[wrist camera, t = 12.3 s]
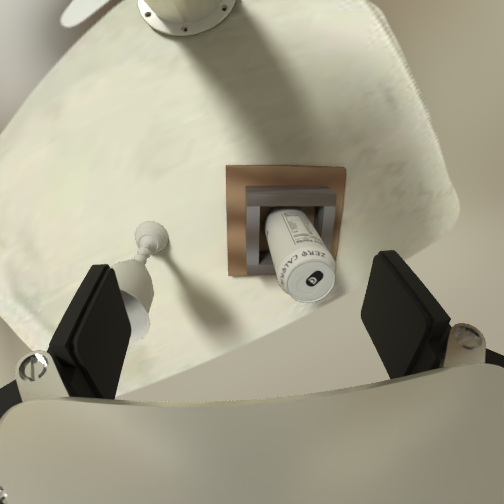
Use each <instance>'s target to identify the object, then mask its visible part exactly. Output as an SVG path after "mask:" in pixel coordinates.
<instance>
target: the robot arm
mask: <svg viewBox="0 0 504 504" xmlns="http://www.w3.org/2000/svg"><path fill="white" fill-rule="evenodd" d="M235 1H236V0H138V8H139V11H140V14H141V16H142V17H143V19H144V20H145V21H146V23H147V24H149V25H150V26H151V27H152V28H153V29H155V30H157V31H159V32H161V33H164V34H168V35H174V36H189V35H194V34H198V33H201V32H204V31H207V30H209V29H211V28H213V27H215V26H216V25H217V24H219V23H220V22H221V21H223V20H224V19H225V18H226V16H227V15H228V14H229V13H230V11H231V10H232V8H233V6H234V4H235ZM222 9H226V11H223V10H222ZM148 15H151V16H150V17H148ZM184 29H188V30H187V31H186V32H184ZM361 319H362V322H363V323H364V326H365V327H366V330H367V331H368V333H369V335H370V337H371V339H372V341H373V344H374V346H375V347H376V350H377V352H378V354H379V356H380V358H381V360H382V362H383V364H384V366H385V368H386V370H387V373H388V375H389V377H390V380H386V381H381V382H376V383H371V384H367V385H361V386H356V387H350V388H344V389H338V390H332V391H326V392H318V393H311V394H304V395H295V396H287V397H277V398H266V399H253V400H237V401H214V402H152V401H129V400H114V399H115V395H116V391H117V387H118V382H119V378H120V374H121V370H122V366H123V363H124V359H125V355H126V351H127V348H128V344H129V340H130V337H131V331H132V330H131V324H130V320H129V317H128V314H127V311H126V308H125V305H124V301H123V298H122V295H121V291H120V288H119V284H118V281H117V277H116V274H115V270H114V269H113V268H110V267H109V265H108V264H101V265H92V267H91V268H90V270H89V271H88V273H87V275H86V277H85V278H84V280H83V282H82V283H81V285H80V287H79V289H78V290H77V292H76V294H75V296H74V297H73V299H72V301H71V303H70V305H69V307H68V308H67V310H66V312H65V314H64V316H63V318H62V320H61V322H60V324H59V326H58V327H57V329H56V331H55V333H54V335H53V337H52V339H51V341H50V344H49V348H48V350H47V352H45V351H41V350H37V351H32V352H30V353H28V354H26V355H25V356H23V357H22V358H21V359H20V360H19V362H18V364H17V365H16V369H15V377H16V380H14V381H12V382H11V383H9V384H7V385H6V386H4V387H2V388H1V389H0V504H504V356H503V355H501V354H498V353H496V352H493V351H491V350H489V349H486V342H485V338H484V336H483V334H482V333H481V332H480V331H479V330H478V329H477V328H475V327H474V326H471V325H469V324H465V323H459V324H455V325H454V326H453V327H451V326H450V324H449V322H450V320H451V318H450V317H449V316H448V314H447V313H446V312H445V310H444V309H443V308H442V307H441V305H440V304H439V303H438V302H437V300H436V299H435V298H434V297H433V295H432V294H431V293H430V292H429V290H428V289H427V288H426V287H425V285H424V284H423V283H422V282H421V280H420V279H419V278H418V277H417V276H416V274H415V273H414V272H413V271H412V270H411V268H410V267H409V266H408V265H407V264H406V263H405V261H404V260H403V259H402V258H401V257H400V256H399V255H398V253H397V252H396V251H394V250H389V251H380V252H379V253H378V255H376V256H375V257H374V259H373V264H372V268H371V273H370V277H369V282H368V286H367V290H366V294H365V298H364V302H363V306H362V310H361Z"/></svg>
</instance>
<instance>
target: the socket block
mask: <svg viewBox="0 0 504 504" xmlns="http://www.w3.org/2000/svg"><path fill="white" fill-rule="evenodd" d="M345 177H346V169H345V168H344V167H327V166H299V165H226V206H227V246H228V276H247V275H276V271H275V268H274V264H273V260H272V256H271V253H270V249H269V245H268V242H267V238H266V234H265V230H264V223H265V219H266V217H267V215H268V214H269V213H270V212H271V211H272V210H273V209H275V208H276V207H278V206H297V207H299V208H300V209H302V210H303V212H304V213H305V214H306V216H307V217H308V219H309V220H310V222H311V223H312V225H313V226H314V228H315V230H316V231H317V233H318V234H319V236H320V238H321V239H322V241H323V242H324V244H325V245H326V247H327V249H328V250H329V252H330V254H331V255H332V257H333V259H334V261H335V259H336V252H337V245H338V238H339V230H340V223H341V214H342V206H343V197H344V187H345Z"/></svg>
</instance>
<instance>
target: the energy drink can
mask: <svg viewBox="0 0 504 504" xmlns="http://www.w3.org/2000/svg"><path fill="white" fill-rule="evenodd" d="M264 230H265V234H266V238H267V242H268V245H269V249H270V253H271V256H272V260H273V264H274V268H275V271H276V275H277V279H278V282H279V285H280V287H281V288H282V290H283V291H285V292H286V293H287V294H289V295H290V296H291V297H292V298H293V299H295V300H296V301H299V302H302V303H312V302H316V301H319V300H321V299H322V298H324V297H325V296H327V295H328V294H329V292H330V291H331V290H332V288H333V286H334V283H335V272H336V265H335V261H334V259H333V257H332V255H331V254H330V252H329V250H328V249H327V247H326V245H325V244H324V242H323V241H322V239H321V238H320V236H319V234H318V233H317V231H316V230H315V228H314V226H313V225H312V223H311V222H310V220H309V219H308V217H307V216H306V214H305V213H304V212H303V210H302V209H300V208H299V207H297V206H278V207H276V208H275V209H273V210H272V211H271V212H270V213H269V214H268V215H267V217H266V219H265V223H264Z"/></svg>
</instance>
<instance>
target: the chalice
mask: <svg viewBox="0 0 504 504" xmlns="http://www.w3.org/2000/svg"><path fill="white" fill-rule="evenodd" d="M135 240H136V243H137V246H138V248H139V249H138V250H137V254H138V255H136V256H135V257H134V259H132V260H127V261H123V262H119V263H117V264H115V265H113V266H111V267H110V268H113V269H114V270H115V274H116V277H117V281H118V284H119V288H120V291H121V295H122V298H123V301H124V305H125V308H126V311H127V314H128V317H129V320H130V324H131V330H132V331H131V337H130V340H129V342H135V341H137V340H139V339H142V338H143V337H144V336H145V335H146V334H147V333H148V331H149V327H150V320H149V315H148V313H149V310H150V306H151V303H152V300H153V296H154V291H153V285H152V280H151V277H150V275H149V273H148V271H147V269H146V266H145V264H146V259H147V258H149V257H150V254H151V255H152V254H155V253H158V252H160V251H162V250H164V249H165V247H166V246H167V244H168V234H167V231H166V230H165V228H164V227H163V226H162V225H160V224H159V223H156V222H154V221H147V222H144V223H142V224H140V225H139V226H138V228H137V229H136V232H135Z"/></svg>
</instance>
